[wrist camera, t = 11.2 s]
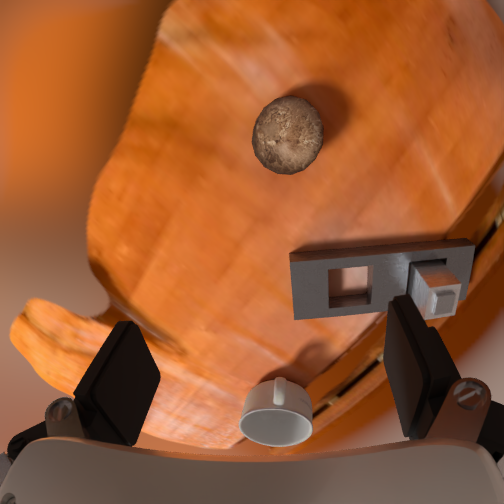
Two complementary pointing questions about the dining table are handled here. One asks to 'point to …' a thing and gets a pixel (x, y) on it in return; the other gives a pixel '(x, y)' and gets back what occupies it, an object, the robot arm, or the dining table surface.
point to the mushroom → (287, 135)
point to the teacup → (277, 414)
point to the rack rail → (370, 275)
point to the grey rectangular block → (433, 288)
